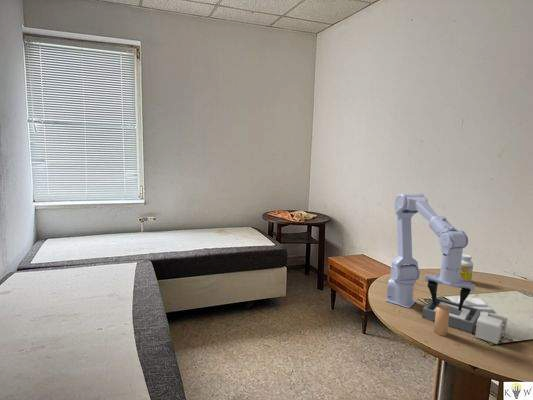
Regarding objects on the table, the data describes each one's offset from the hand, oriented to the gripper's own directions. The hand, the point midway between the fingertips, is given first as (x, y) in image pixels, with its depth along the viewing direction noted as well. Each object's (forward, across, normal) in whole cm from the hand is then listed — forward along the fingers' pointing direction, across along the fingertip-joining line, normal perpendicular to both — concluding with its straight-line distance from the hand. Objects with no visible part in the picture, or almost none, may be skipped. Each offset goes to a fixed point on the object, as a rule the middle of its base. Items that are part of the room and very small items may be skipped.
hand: (446, 306), depth 115 cm
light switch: (+10, +4, +31) cm, 33 cm away
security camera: (+6, +13, +13) cm, 19 cm away
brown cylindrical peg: (+9, -1, -1) cm, 9 cm away
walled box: (+9, 0, +13) cm, 16 cm away
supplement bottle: (+10, -2, +58) cm, 58 cm away
